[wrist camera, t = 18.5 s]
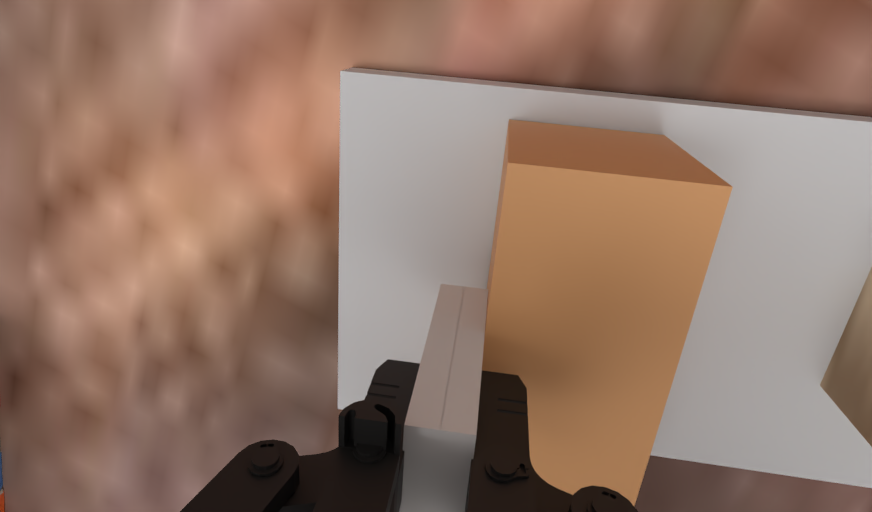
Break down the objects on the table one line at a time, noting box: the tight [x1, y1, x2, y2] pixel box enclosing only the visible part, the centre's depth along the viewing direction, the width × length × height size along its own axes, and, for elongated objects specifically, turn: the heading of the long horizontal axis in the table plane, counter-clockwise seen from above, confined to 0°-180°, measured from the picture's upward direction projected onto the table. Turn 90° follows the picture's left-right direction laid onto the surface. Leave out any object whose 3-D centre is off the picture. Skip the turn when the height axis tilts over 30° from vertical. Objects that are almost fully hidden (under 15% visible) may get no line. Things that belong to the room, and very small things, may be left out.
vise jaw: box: [482, 119, 733, 506], centre depth 18 cm, size 12×5×6 cm, turn 175°
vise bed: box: [338, 67, 872, 488], centre depth 18 cm, size 14×30×8 cm, turn 85°
